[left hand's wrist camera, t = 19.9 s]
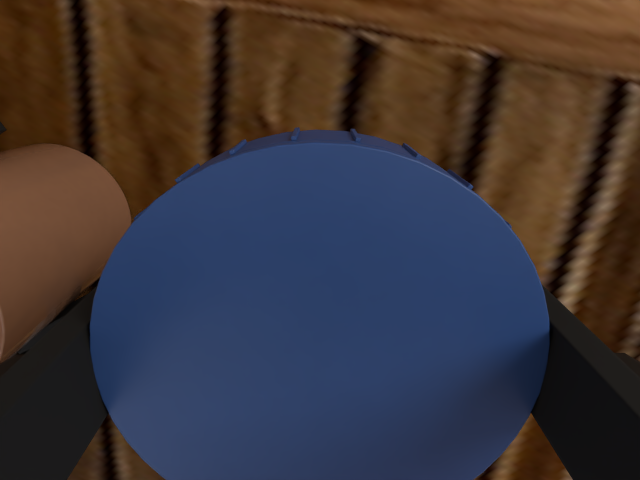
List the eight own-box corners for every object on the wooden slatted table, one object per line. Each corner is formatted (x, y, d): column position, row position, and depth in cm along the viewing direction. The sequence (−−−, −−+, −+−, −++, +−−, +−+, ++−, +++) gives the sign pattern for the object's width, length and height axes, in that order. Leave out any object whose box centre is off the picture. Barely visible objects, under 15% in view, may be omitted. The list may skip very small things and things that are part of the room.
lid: (381, 507, 15) (391, 576, 13) (74, 382, 13) (28, 440, 11) (596, 255, 12) (656, 294, 10) (223, 36, 10) (197, 25, 8)
